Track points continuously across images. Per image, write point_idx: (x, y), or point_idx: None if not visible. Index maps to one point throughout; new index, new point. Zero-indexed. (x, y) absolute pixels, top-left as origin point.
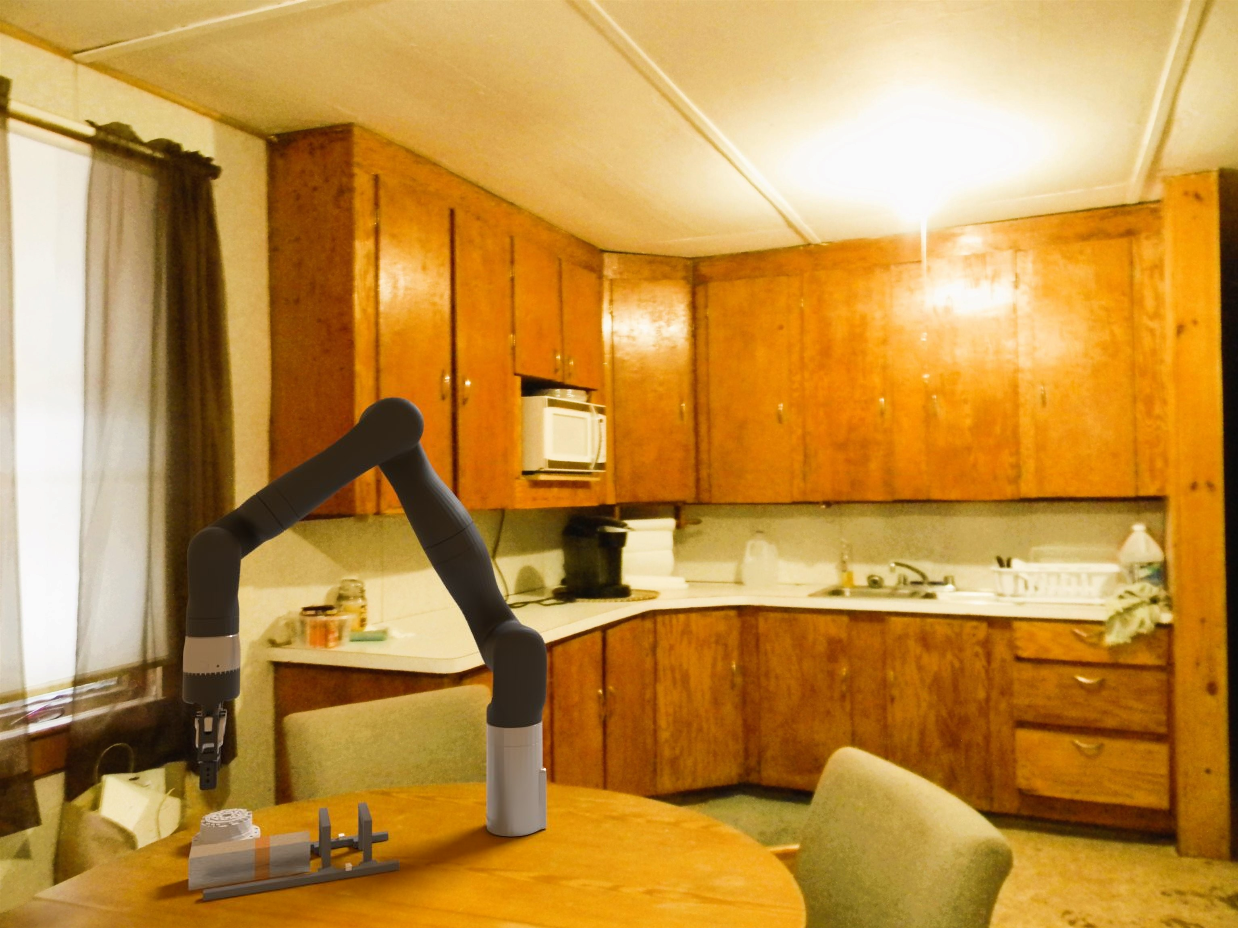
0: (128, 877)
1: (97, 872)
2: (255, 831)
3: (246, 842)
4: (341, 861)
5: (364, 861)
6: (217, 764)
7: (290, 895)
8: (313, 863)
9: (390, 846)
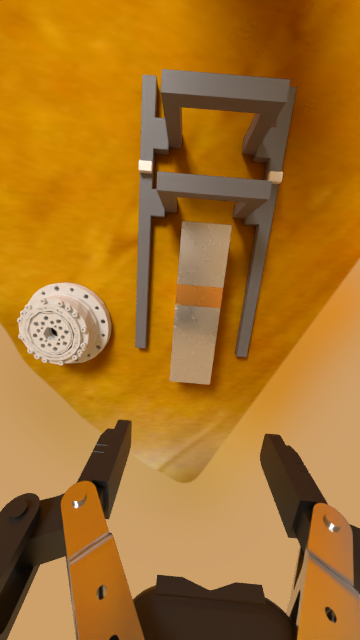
0: (141, 413)
1: None
2: (68, 289)
3: (188, 317)
4: None
5: (259, 148)
6: (125, 436)
7: (285, 265)
8: None
9: None
